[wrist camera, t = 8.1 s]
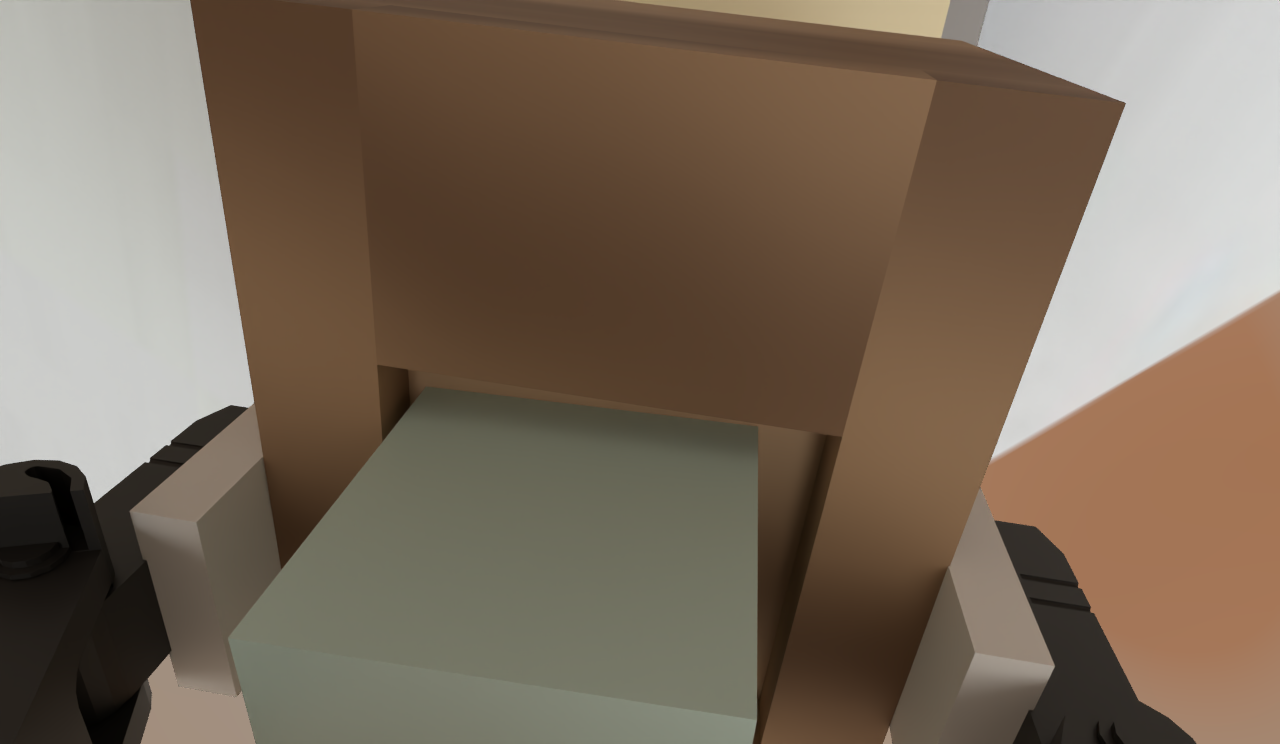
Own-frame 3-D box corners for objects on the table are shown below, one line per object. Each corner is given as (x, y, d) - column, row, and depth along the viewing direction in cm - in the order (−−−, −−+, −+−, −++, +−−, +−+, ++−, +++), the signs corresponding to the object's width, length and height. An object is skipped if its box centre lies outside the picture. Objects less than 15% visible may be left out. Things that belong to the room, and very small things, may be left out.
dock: (500, -102, 23) (465, -110, 21) (976, -56, 22) (1006, -58, 20) (499, 366, 31) (473, 406, 28) (854, 418, 30) (863, 465, 27)
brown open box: (432, -21, 12) (187, -11, 7) (962, 40, 11) (1126, 103, 6) (447, 568, 18) (320, 814, 13) (800, 630, 17) (817, 913, 12)
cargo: (425, 386, 9) (228, 637, 6) (757, 426, 9) (756, 720, 6) (445, 626, 11) (304, 925, 8) (721, 668, 11) (703, 1002, 7)
